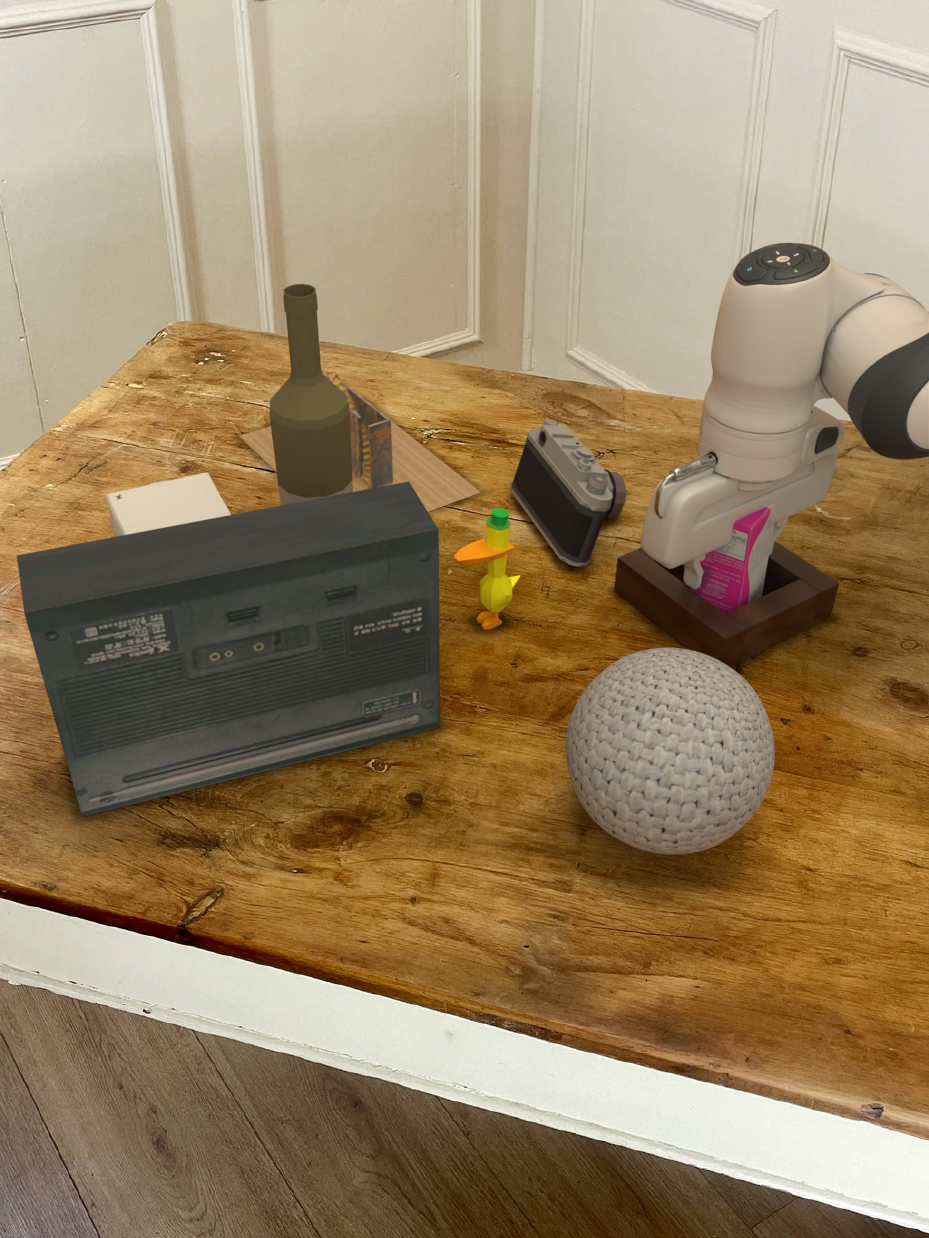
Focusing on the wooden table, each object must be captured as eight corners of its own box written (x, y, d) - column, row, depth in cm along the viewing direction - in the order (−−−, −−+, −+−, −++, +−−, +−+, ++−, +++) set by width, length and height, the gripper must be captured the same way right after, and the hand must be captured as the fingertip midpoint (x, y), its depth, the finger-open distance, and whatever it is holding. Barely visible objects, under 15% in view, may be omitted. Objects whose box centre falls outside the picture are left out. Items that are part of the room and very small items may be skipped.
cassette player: (413, 675, 105) (409, 481, 92) (439, 727, 100) (438, 529, 87) (72, 755, 97) (16, 555, 84) (82, 816, 92) (24, 613, 79)
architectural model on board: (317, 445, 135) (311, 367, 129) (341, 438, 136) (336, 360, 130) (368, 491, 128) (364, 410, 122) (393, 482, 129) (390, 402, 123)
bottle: (370, 600, 113) (355, 300, 94) (299, 617, 111) (268, 314, 92) (347, 559, 118) (328, 267, 99) (278, 575, 116) (245, 280, 97)
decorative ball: (535, 863, 88) (545, 716, 79) (589, 731, 99) (604, 588, 90) (737, 922, 84) (773, 774, 75) (770, 778, 95) (806, 633, 86)
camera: (637, 572, 119) (673, 486, 114) (563, 570, 116) (596, 480, 110) (573, 492, 131) (603, 410, 125) (503, 487, 127) (531, 402, 122)
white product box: (155, 690, 103) (126, 548, 94) (131, 630, 109) (101, 491, 100) (256, 661, 106) (238, 521, 97) (227, 604, 112) (207, 468, 103)
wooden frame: (723, 543, 121) (728, 510, 118) (831, 617, 112) (840, 582, 109) (613, 591, 114) (617, 557, 112) (718, 673, 105) (725, 638, 103)
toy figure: (464, 644, 108) (466, 535, 101) (446, 622, 110) (446, 514, 103) (528, 622, 111) (534, 514, 103) (509, 601, 113) (513, 494, 106)
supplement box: (706, 578, 116) (723, 477, 109) (762, 600, 114) (783, 498, 106) (678, 608, 112) (694, 506, 105) (736, 631, 110) (756, 528, 103)
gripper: (685, 492, 95) (666, 626, 104) (859, 421, 104) (828, 550, 113) (633, 457, 99) (619, 589, 108) (805, 392, 108) (779, 518, 117)
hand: (727, 569), depth 110 cm, fingers closed on supplement box, 7 cm apart
